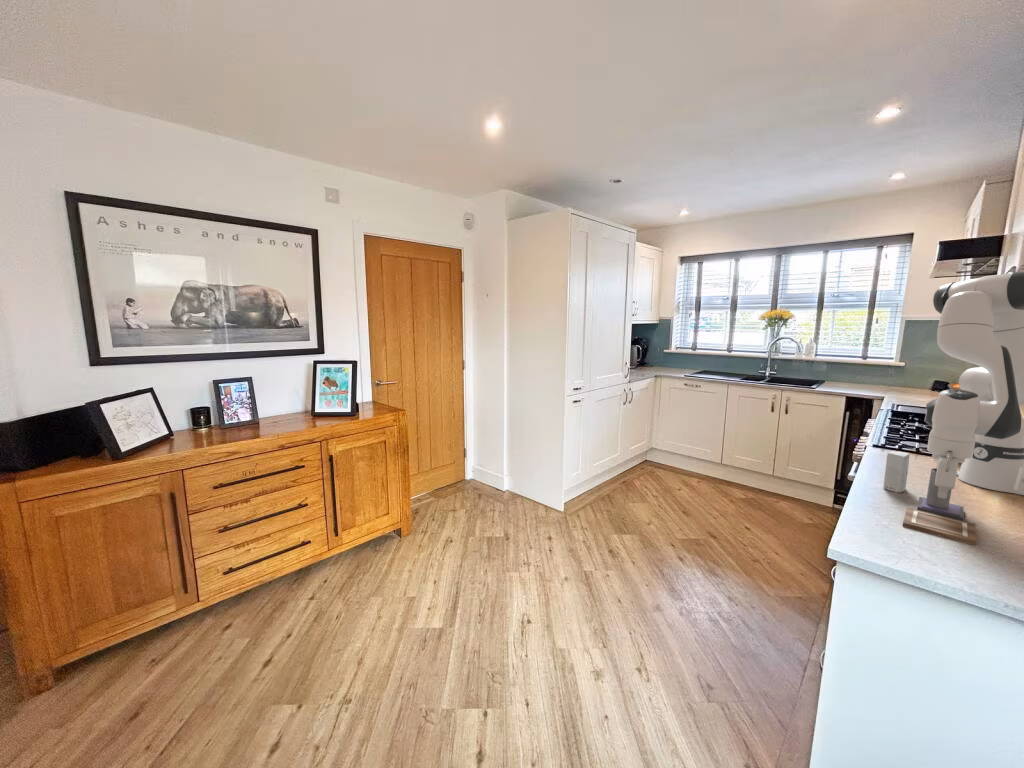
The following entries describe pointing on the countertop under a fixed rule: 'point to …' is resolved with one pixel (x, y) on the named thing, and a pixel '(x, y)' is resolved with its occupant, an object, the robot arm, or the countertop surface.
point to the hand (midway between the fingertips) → (942, 494)
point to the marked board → (940, 526)
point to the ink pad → (942, 510)
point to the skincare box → (896, 471)
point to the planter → (936, 493)
